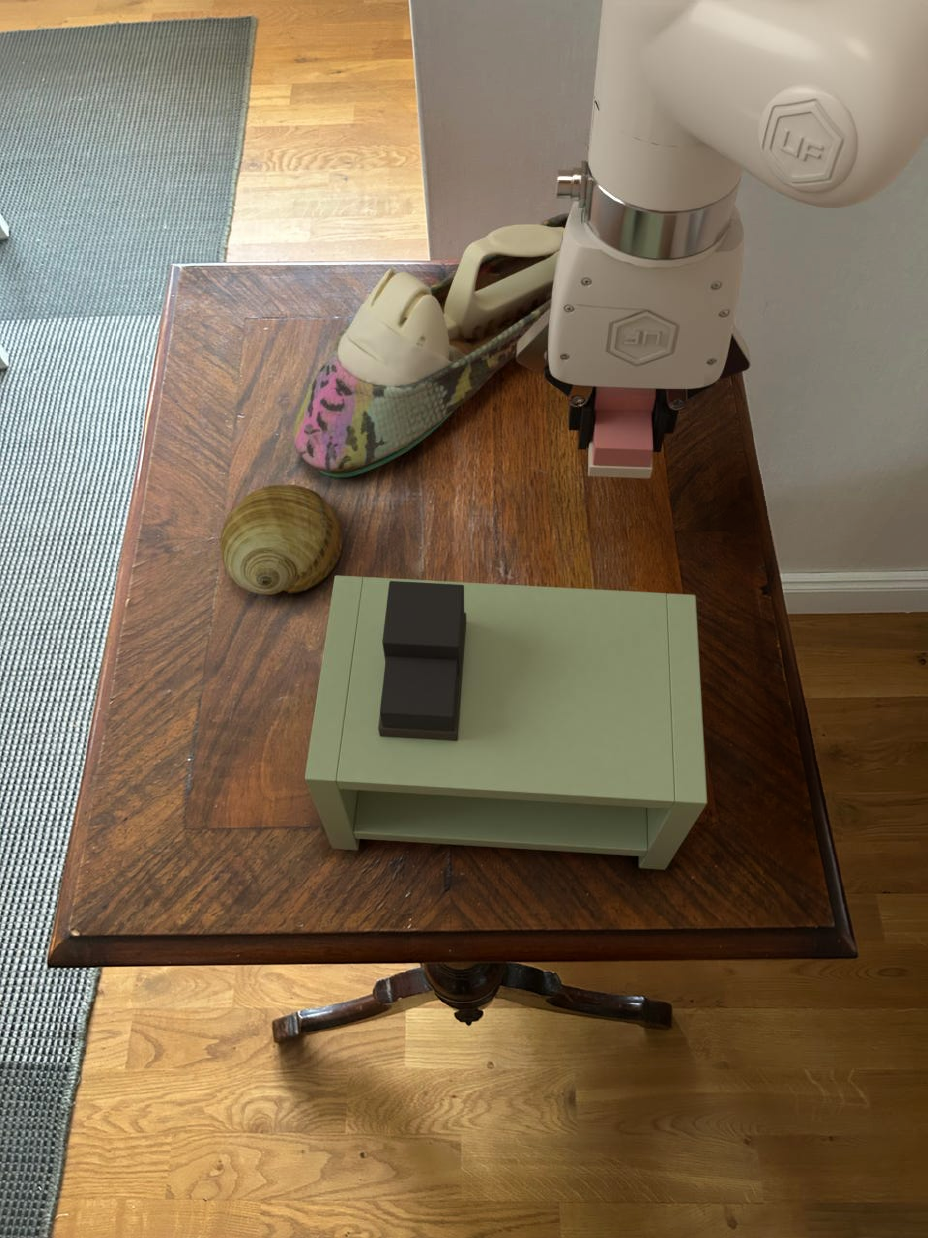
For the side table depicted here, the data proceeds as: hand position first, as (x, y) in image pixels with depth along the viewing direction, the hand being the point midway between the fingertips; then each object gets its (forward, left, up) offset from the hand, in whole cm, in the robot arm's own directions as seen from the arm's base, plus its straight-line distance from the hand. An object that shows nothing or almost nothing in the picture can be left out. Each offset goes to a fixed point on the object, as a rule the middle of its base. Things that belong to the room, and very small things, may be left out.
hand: (619, 432), depth 67 cm
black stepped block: (+11, +21, +4) cm, 24 cm away
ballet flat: (+11, -12, -8) cm, 18 cm away
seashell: (+23, +6, -8) cm, 25 cm away
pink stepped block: (0, 0, 0) cm, 0 cm away
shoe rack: (+7, +21, -8) cm, 23 cm away
